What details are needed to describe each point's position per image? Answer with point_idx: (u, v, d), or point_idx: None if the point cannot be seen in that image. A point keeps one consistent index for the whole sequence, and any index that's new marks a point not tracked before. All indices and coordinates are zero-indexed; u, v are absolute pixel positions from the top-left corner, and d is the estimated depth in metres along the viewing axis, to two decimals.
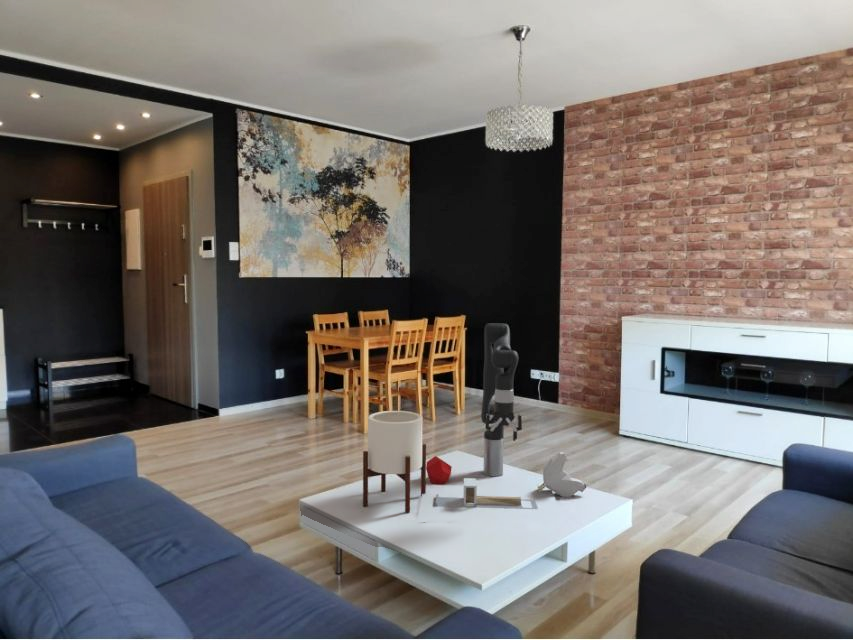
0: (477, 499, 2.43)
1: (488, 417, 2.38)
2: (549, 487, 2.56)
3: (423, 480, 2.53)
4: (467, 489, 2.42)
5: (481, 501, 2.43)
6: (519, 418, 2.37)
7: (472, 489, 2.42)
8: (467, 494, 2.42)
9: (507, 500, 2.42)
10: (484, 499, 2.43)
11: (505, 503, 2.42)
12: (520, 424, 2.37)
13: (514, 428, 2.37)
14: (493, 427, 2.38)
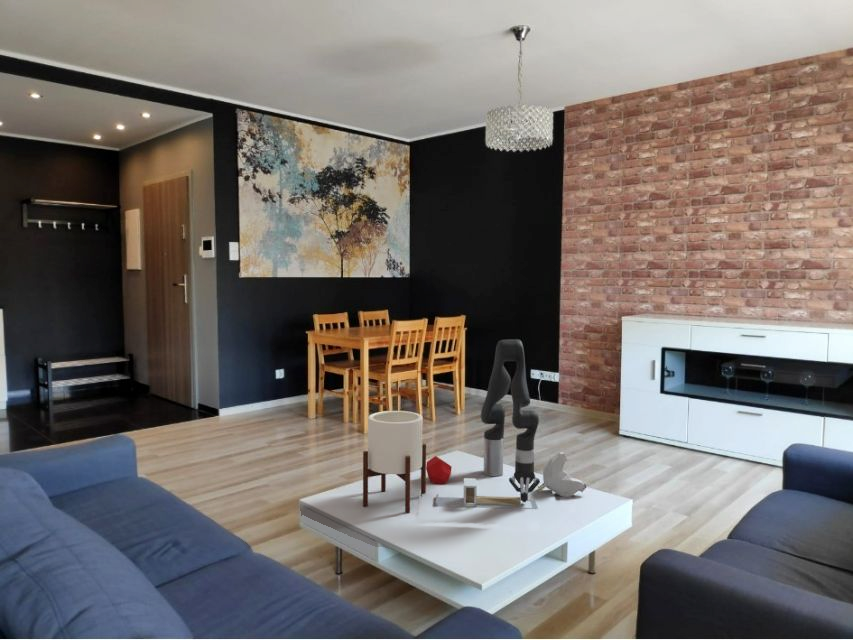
0: (477, 499, 2.43)
1: (511, 481, 2.42)
2: (549, 487, 2.56)
3: (423, 480, 2.53)
4: (467, 489, 2.42)
5: (481, 501, 2.43)
6: (537, 482, 2.41)
7: (472, 489, 2.42)
8: (467, 494, 2.42)
9: (506, 500, 2.42)
10: (484, 499, 2.43)
11: (505, 503, 2.42)
12: (534, 487, 2.41)
13: (525, 490, 2.42)
14: (522, 489, 2.42)
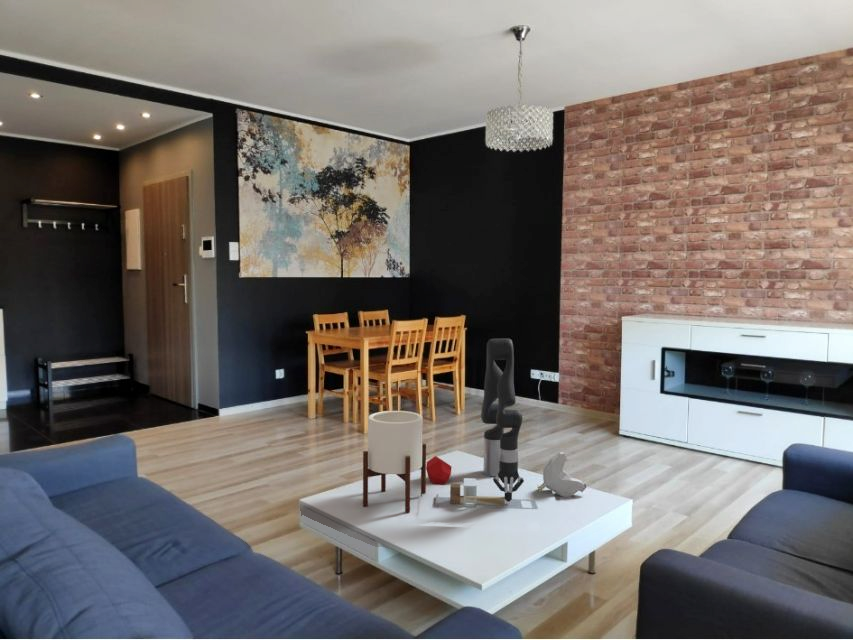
0: (461, 499, 2.43)
1: (495, 481, 2.42)
2: (549, 487, 2.56)
3: (423, 480, 2.53)
4: (452, 489, 2.42)
5: None
6: (521, 481, 2.41)
7: (457, 489, 2.42)
8: (452, 494, 2.42)
9: (491, 500, 2.42)
10: (468, 499, 2.43)
11: (489, 503, 2.42)
12: (518, 486, 2.42)
13: (509, 489, 2.42)
14: (506, 488, 2.42)
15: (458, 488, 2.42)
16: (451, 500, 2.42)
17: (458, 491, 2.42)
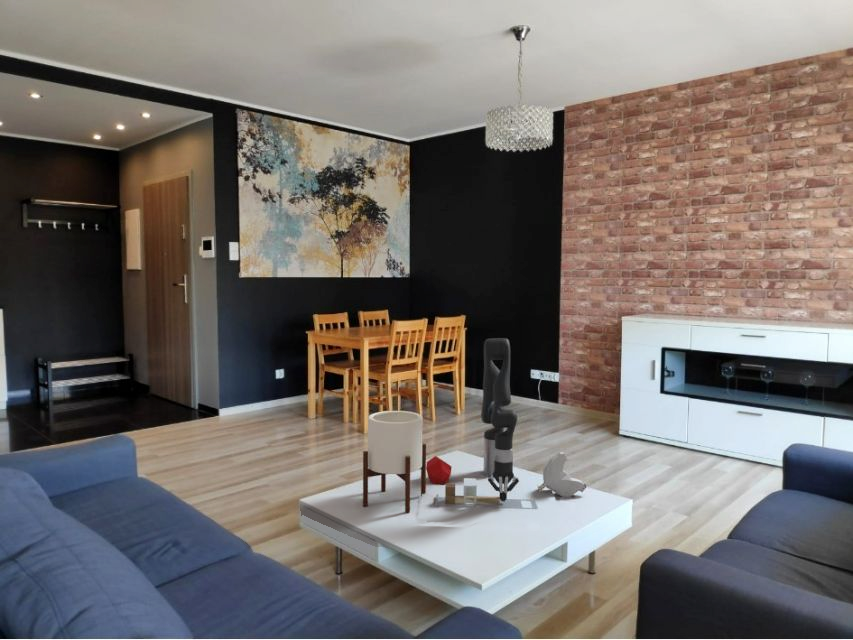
0: (456, 499, 2.43)
1: (490, 481, 2.42)
2: (549, 487, 2.56)
3: (423, 480, 2.53)
4: (447, 489, 2.42)
5: (460, 501, 2.43)
6: (516, 481, 2.41)
7: (452, 489, 2.42)
8: (447, 494, 2.42)
9: (486, 500, 2.42)
10: (463, 499, 2.43)
11: (484, 503, 2.42)
12: (512, 486, 2.42)
13: (504, 489, 2.42)
14: (500, 488, 2.42)
15: (453, 488, 2.42)
16: (446, 500, 2.43)
17: (453, 491, 2.42)
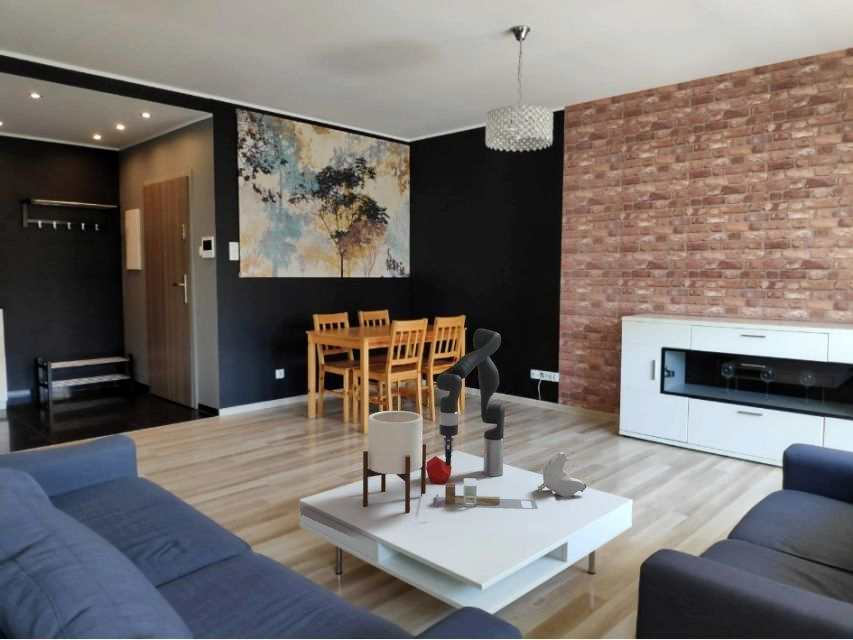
0: (456, 499, 2.43)
1: None
2: (549, 487, 2.56)
3: (423, 480, 2.53)
4: (447, 489, 2.42)
5: (460, 501, 2.43)
6: (445, 446, 2.38)
7: (452, 489, 2.42)
8: (447, 494, 2.42)
9: (486, 500, 2.42)
10: (463, 499, 2.43)
11: (484, 503, 2.42)
12: (445, 451, 2.39)
13: (445, 453, 2.42)
14: None
15: (453, 488, 2.42)
16: (446, 500, 2.43)
17: (453, 491, 2.42)
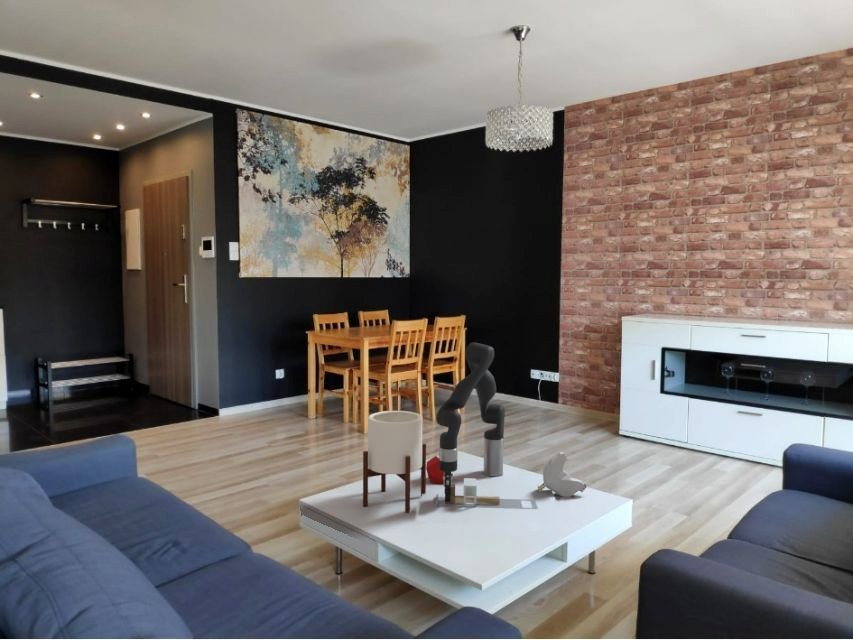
0: (456, 499, 2.43)
1: None
2: (549, 487, 2.56)
3: (423, 480, 2.53)
4: (447, 489, 2.42)
5: (460, 501, 2.43)
6: (444, 482, 2.38)
7: (452, 489, 2.42)
8: None
9: (486, 500, 2.42)
10: (463, 499, 2.43)
11: (484, 503, 2.42)
12: None
13: None
14: None
15: (453, 488, 2.42)
16: None
17: (453, 491, 2.42)
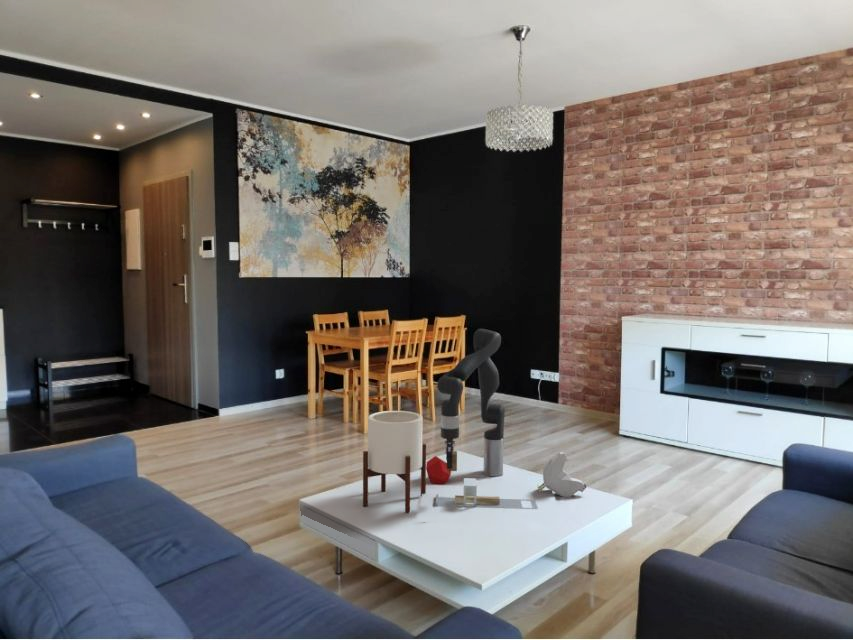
0: (456, 499, 2.43)
1: None
2: (549, 487, 2.56)
3: (423, 480, 2.53)
4: (449, 456, 2.42)
5: (460, 501, 2.43)
6: (446, 449, 2.38)
7: (454, 456, 2.42)
8: None
9: (486, 500, 2.42)
10: (463, 499, 2.43)
11: (484, 503, 2.43)
12: (446, 454, 2.39)
13: None
14: None
15: (455, 455, 2.42)
16: None
17: (455, 458, 2.42)
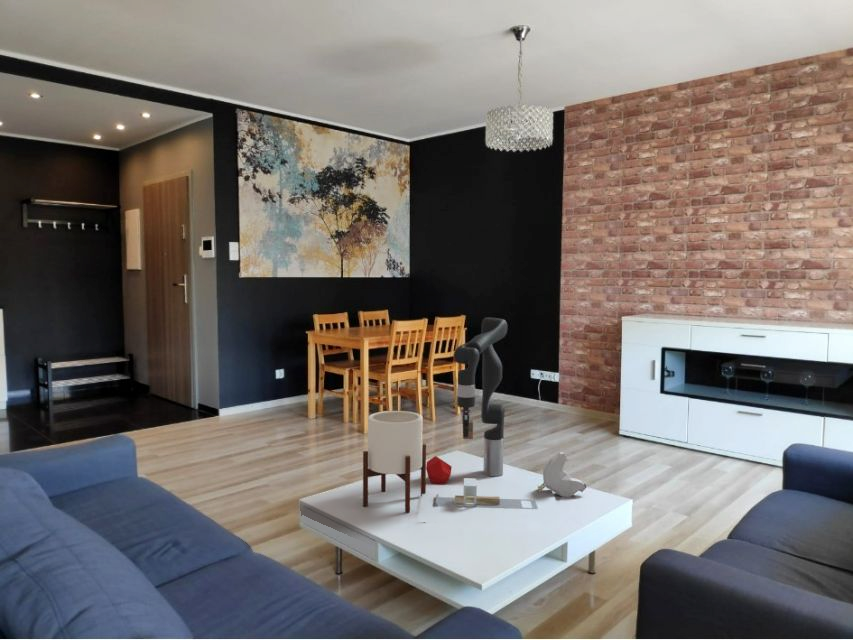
0: (456, 499, 2.43)
1: (462, 410, 2.56)
2: (549, 487, 2.56)
3: (423, 480, 2.53)
4: (465, 424, 2.48)
5: (460, 501, 2.43)
6: (463, 417, 2.44)
7: (470, 424, 2.48)
8: None
9: (486, 500, 2.42)
10: (463, 499, 2.43)
11: (484, 503, 2.43)
12: None
13: None
14: None
15: (471, 423, 2.48)
16: None
17: (471, 426, 2.48)
